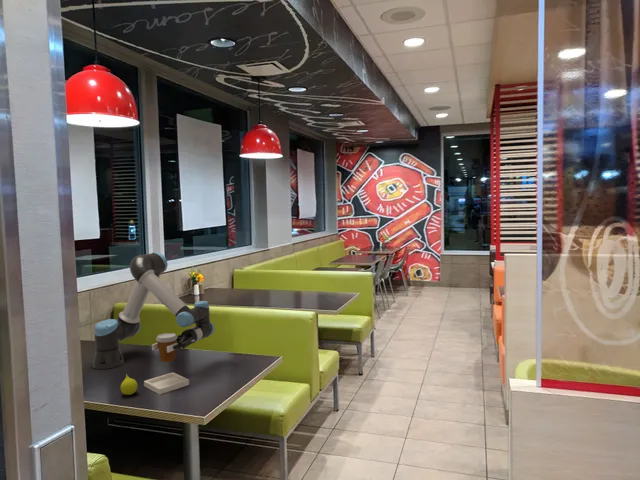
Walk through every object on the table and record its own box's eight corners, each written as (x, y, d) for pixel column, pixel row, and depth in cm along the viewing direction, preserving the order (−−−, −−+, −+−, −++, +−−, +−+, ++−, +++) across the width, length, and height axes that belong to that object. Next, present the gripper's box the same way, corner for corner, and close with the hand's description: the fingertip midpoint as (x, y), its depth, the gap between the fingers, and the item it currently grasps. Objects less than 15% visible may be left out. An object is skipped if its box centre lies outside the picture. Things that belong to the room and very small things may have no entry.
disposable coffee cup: (172, 363, 216) (170, 338, 215) (153, 363, 218) (152, 338, 217) (181, 357, 225) (180, 333, 224) (163, 356, 227) (162, 332, 226)
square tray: (144, 386, 219) (143, 381, 218) (173, 377, 229) (172, 372, 229) (159, 394, 208) (159, 389, 208) (189, 384, 219) (189, 379, 219)
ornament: (126, 391, 213) (125, 369, 213) (140, 391, 213) (139, 370, 212) (117, 397, 206) (116, 375, 205) (132, 397, 205) (131, 375, 205)
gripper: (208, 344, 233) (178, 359, 213) (175, 340, 242) (143, 354, 221) (207, 330, 233) (177, 343, 212) (174, 326, 241) (142, 338, 220)
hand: (160, 348), depth 216 cm, fingers closed on disposable coffee cup, 8 cm apart
